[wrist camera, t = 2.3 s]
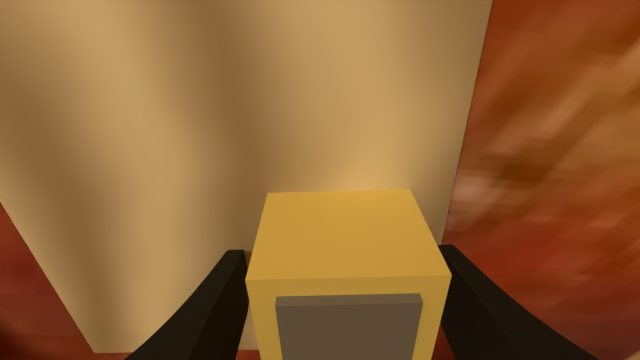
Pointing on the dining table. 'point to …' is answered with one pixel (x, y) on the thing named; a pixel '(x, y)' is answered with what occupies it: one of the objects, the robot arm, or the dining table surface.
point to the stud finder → (346, 277)
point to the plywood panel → (214, 132)
